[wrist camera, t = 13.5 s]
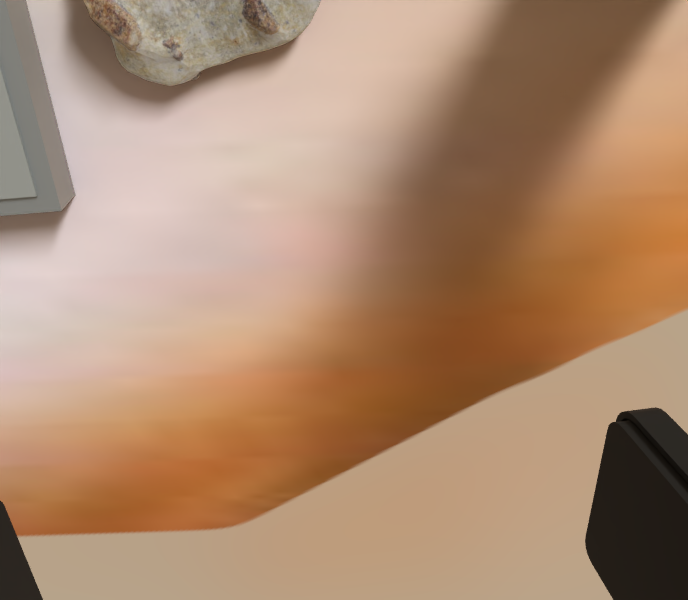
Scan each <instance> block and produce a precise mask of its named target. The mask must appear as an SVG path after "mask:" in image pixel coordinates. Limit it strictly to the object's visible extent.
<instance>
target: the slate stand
mask: <svg viewBox="0 0 688 600" xmlns="http://www.w3.org/2000/svg"><path fill="white" fill-rule="evenodd" d="M74 196H75V192H74V188H73V184H72V180H71V176H70V172H69V168H68V164H67V160H66V156H65V153H64V149H63V145H62V141H61V137H60V133H59V129H58V125H57V121H56V117H55V113H54V109H53V105H52V101H51V98H50V94H49V90H48V86H47V82H46V78H45V74H44V70H43V66H42V62H41V58H40V54H39V50H38V46H37V42H36V39H35V35H34V31H33V27H32V23H31V19H30V15H29V11H28V7H27V3H26V0H0V216H6V215H18V214H30V213H43V212H55V211H62V210H63V209H64V208H65V206H66V205H67V204H68V203H69V202H70V201H71V199H72V198H73V197H74Z"/></svg>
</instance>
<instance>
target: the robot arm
mask: <svg viewBox="0 0 688 600" xmlns="http://www.w3.org/2000/svg"><path fill="white" fill-rule="evenodd" d="M585 543H586V550H587V554H588V556H589V559H590V561H591V563H592V565H593V566H594V568H595V570H596V571H597V573H598V574H599V576H600V578H601V580H602V581H603V583H604V585H605V586H606V588H607V590H608V591H609V593H610V595H611V596H612V598H613V600H688V435H687V433H686V432H684V430H683V429H682V428H681V427H680V426H679V425H678V424H677V423H676V422H675V421H674V420H673V419H672V418H671V417H670V416H669V415H668V414H667V413H666V412H664V411H663V410H662V409H659V408H649V409H641V410H633V411H625V412H621V413H620V414H619V415H618V417H617V419H616V422H612V423H611V424H610V425H609V427H608V430H607V435H606V440H605V445H604V449H603V454H602V459H601V464H600V469H599V474H598V479H597V484H596V489H595V494H594V498H593V503H592V508H591V513H590V518H589V523H588V528H587V533H586V539H585ZM0 600H43V599H42V596H41V594H40V591H39V589H38V587H37V584H36V582H35V579H34V577H33V574H32V572H31V570H30V567H29V565H28V562H27V560H26V557H25V555H24V553H23V550H22V548H21V545H20V543H19V540H18V538H17V535H16V533H15V530H14V528H13V526H12V523H11V521H10V518H9V516H8V513H7V511H6V508H5V506H4V504H3V503H2V502H1V501H0Z"/></svg>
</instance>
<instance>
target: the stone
mask: <svg viewBox="0 0 688 600" xmlns="http://www.w3.org/2000/svg"><path fill="white" fill-rule="evenodd" d="M83 1H84V3H85V5H86V7H87V10H88V13H89V15H90V17H91V19H92V20H93V21H94V22H95V23H96V25H97V26H99V27H100V28H101V29H102V30H103V31H104V32H105V33H107V34H108V35H109V36H110V37H111V40H112V43H113V46H114V48H115V53H116V57H117V59H118V61H119V62H120V64H121V66H122V67H124V68H125V69H126V70H127V71H128V72H130V73H132V74H134V75H136V76H138V77H140V78H142V79H144V80H147V81H150V82H154V83H158V84H162V85H166V86H174V85H178V84H182V83H185V82H187V81H189V80H196V79H198V78H199V77H200V75H201V72H200V71H203V70H204V69H207V68H210V67H212V66H216V65H220V64H223V63H227V62H230V61H232V60H234V59H236V58H239V57H242V56H246V55H250V54H254V53H258V52H262V51H266V50H270V49H272V48H275V47H278V46H281V45H283V44H286V43H288V42H290V41H291V40H293V39H294V38H296V37H297V36H299V35H300V34H301V33H302V32H303V31H304V30H305V29H306V27H307V26H308V25H309V24H310V22H311V20H312V18H313V16H314V14H315V12H316V10H317V8H318V7H319V4H320V1H321V0H83Z"/></svg>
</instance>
